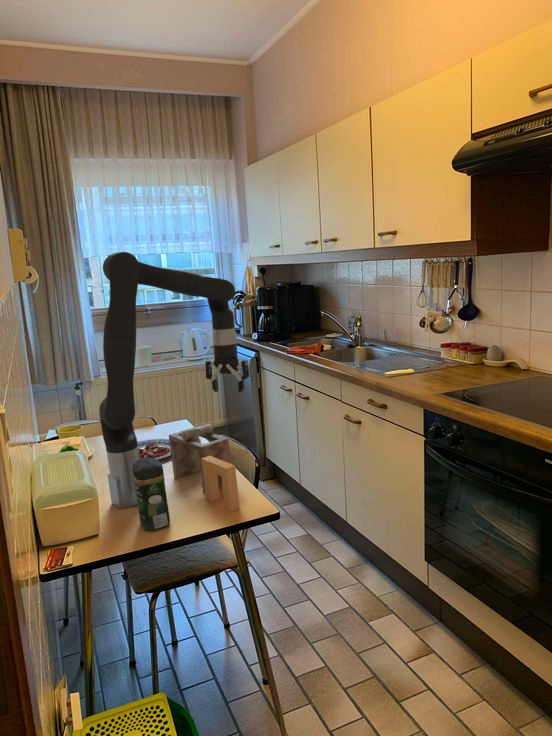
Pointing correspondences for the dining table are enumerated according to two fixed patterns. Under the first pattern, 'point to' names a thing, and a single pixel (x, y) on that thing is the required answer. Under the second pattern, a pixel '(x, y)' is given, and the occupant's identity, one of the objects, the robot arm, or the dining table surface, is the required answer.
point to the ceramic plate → (154, 448)
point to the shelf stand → (196, 451)
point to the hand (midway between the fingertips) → (228, 391)
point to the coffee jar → (151, 493)
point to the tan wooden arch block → (229, 481)
